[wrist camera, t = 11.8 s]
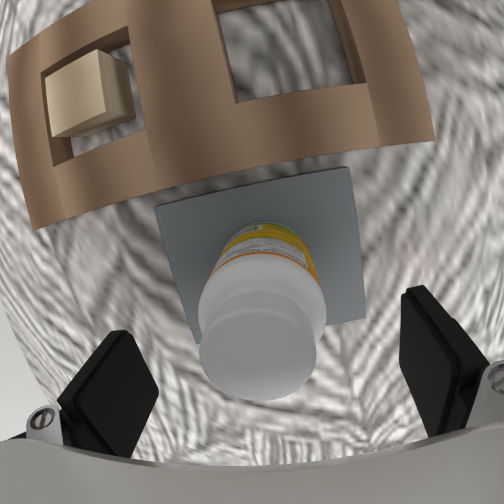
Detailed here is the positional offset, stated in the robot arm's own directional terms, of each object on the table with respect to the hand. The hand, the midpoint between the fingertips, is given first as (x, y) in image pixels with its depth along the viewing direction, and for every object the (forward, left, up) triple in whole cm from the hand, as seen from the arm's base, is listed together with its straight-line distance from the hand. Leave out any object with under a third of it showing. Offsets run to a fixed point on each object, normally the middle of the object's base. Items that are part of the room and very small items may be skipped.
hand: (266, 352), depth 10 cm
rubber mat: (+1, +1, -10) cm, 10 cm away
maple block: (+9, -12, -10) cm, 18 cm away
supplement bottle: (0, 0, -10) cm, 10 cm away
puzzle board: (+3, -12, -10) cm, 16 cm away
